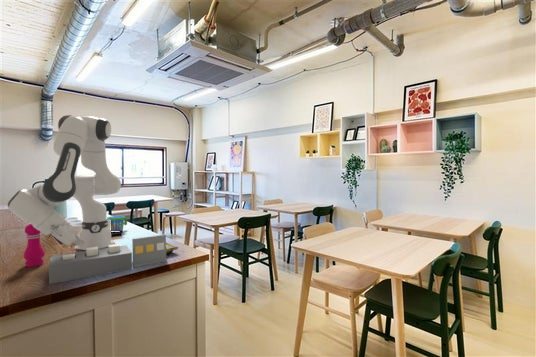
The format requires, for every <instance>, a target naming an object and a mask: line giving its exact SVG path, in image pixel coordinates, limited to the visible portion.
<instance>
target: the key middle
mask: <svg viewBox="0 0 536 357" xmlns="http://www.w3.org/2000/svg"><path fill="white" fill-rule="evenodd" d="M85 251H86V254H87V256H94V255H98V247H89V248H86V250H85Z"/></svg>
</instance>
